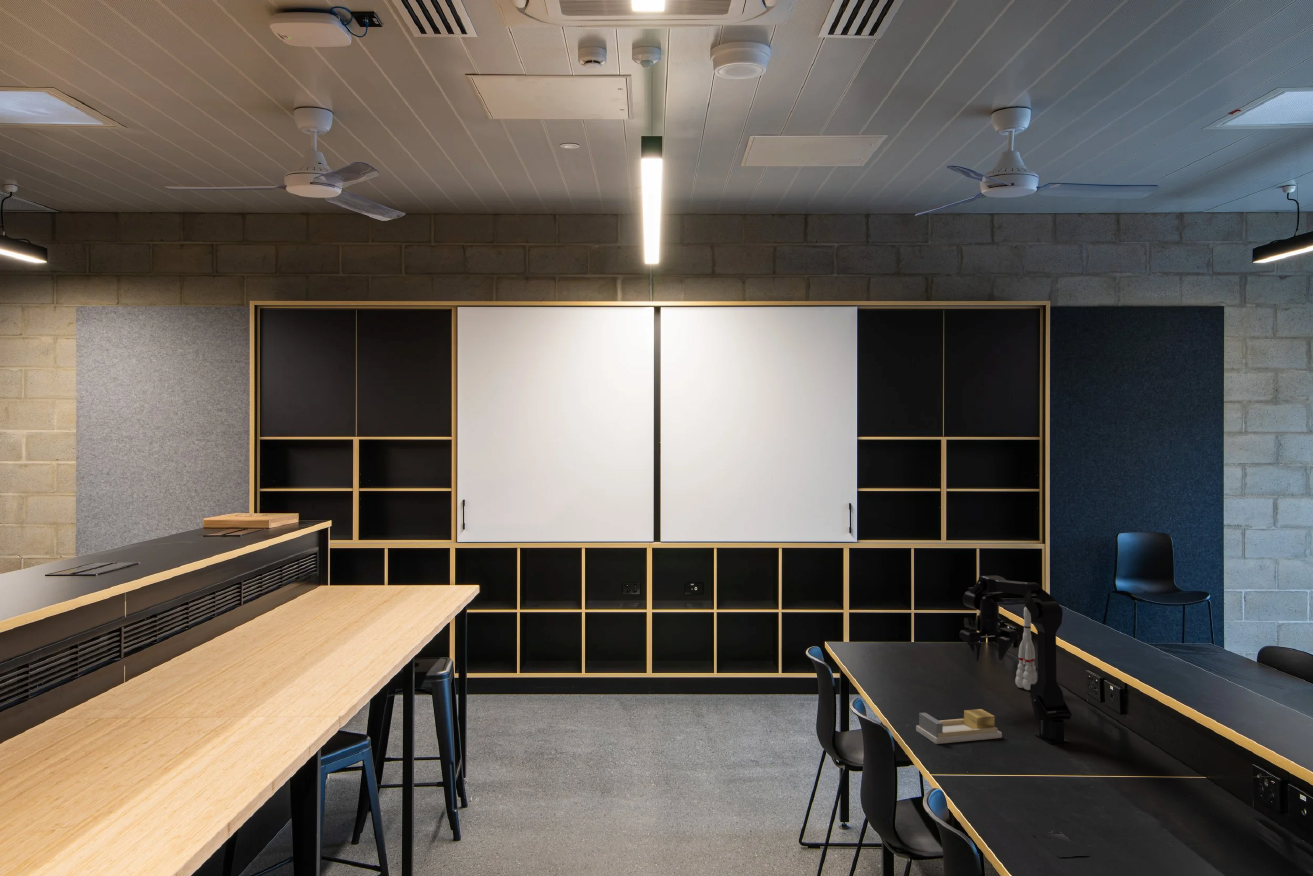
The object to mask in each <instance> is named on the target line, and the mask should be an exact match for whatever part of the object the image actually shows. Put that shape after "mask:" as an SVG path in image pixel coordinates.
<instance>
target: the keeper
mask: <svg viewBox="0 0 1313 876" xmlns="http://www.w3.org/2000/svg"><path fill="white" fill-rule="evenodd" d="M995 717H996V716H995V715H993V714H991V713H989V712H988V711H985V710H984V709H982V708H978V709H967V710H965V709H964V710H963V719H964V724H965V725H967V726H969V727H970V728H972V729H978V728H989V727H995V719H996V718H995Z"/></svg>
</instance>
